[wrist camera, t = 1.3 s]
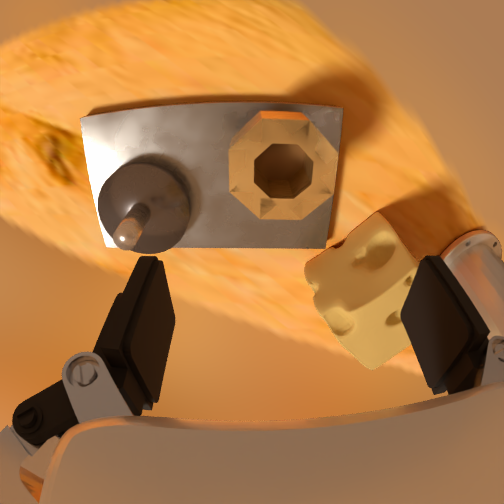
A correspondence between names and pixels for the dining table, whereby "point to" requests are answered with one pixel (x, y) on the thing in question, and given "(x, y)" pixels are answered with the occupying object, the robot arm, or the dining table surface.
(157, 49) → the dining table surface
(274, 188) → the collar
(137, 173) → the hub
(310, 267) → the cheese
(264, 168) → the brown rounded dome
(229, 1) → the dining table surface
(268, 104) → the plate
